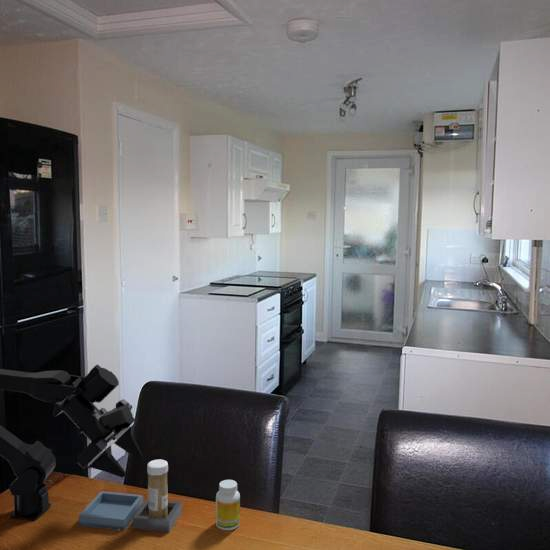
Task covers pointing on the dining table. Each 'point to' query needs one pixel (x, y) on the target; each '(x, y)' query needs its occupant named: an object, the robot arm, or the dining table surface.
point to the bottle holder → (157, 523)
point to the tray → (111, 510)
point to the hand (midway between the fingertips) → (133, 466)
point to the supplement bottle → (227, 505)
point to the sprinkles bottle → (157, 488)
